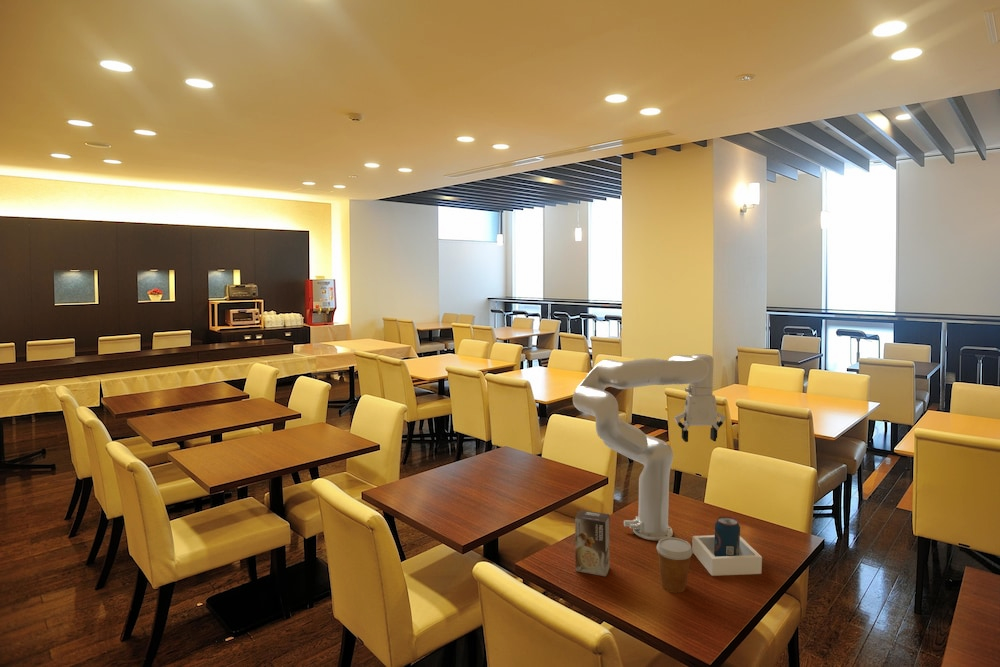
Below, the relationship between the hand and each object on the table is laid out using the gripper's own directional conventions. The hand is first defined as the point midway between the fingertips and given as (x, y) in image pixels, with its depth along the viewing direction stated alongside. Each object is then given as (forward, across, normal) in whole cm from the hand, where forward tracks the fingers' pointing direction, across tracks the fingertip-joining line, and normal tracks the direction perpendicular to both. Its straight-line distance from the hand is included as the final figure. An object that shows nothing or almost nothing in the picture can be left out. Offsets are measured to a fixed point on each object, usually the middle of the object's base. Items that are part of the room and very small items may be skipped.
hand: (699, 440), depth 199 cm
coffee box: (+28, -43, -30) cm, 60 cm away
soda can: (+28, -3, -29) cm, 40 cm away
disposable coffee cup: (+28, -23, -41) cm, 55 cm away
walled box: (+28, -3, -29) cm, 41 cm away
